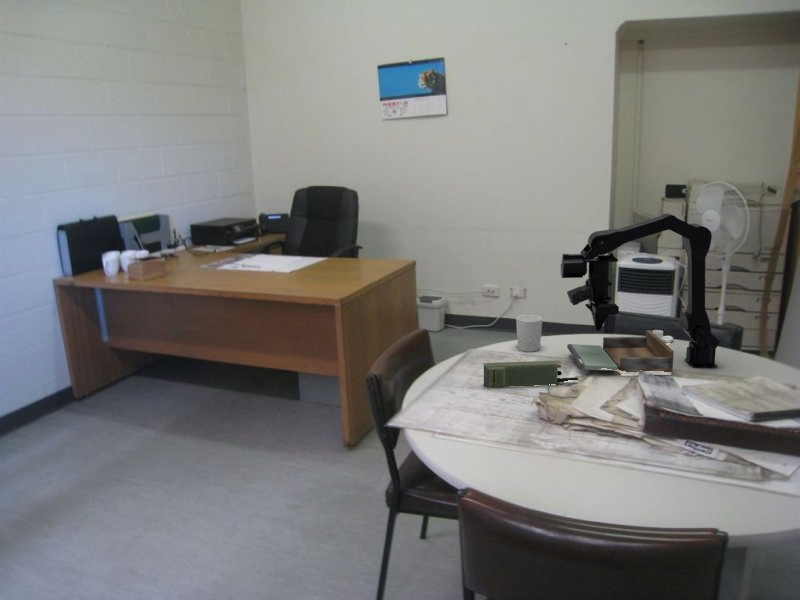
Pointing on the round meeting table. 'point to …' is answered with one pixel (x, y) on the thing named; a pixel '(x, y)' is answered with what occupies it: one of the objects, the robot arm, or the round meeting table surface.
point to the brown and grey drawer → (639, 353)
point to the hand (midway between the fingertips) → (597, 330)
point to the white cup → (529, 332)
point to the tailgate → (591, 357)
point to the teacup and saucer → (663, 337)
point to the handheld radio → (522, 373)
